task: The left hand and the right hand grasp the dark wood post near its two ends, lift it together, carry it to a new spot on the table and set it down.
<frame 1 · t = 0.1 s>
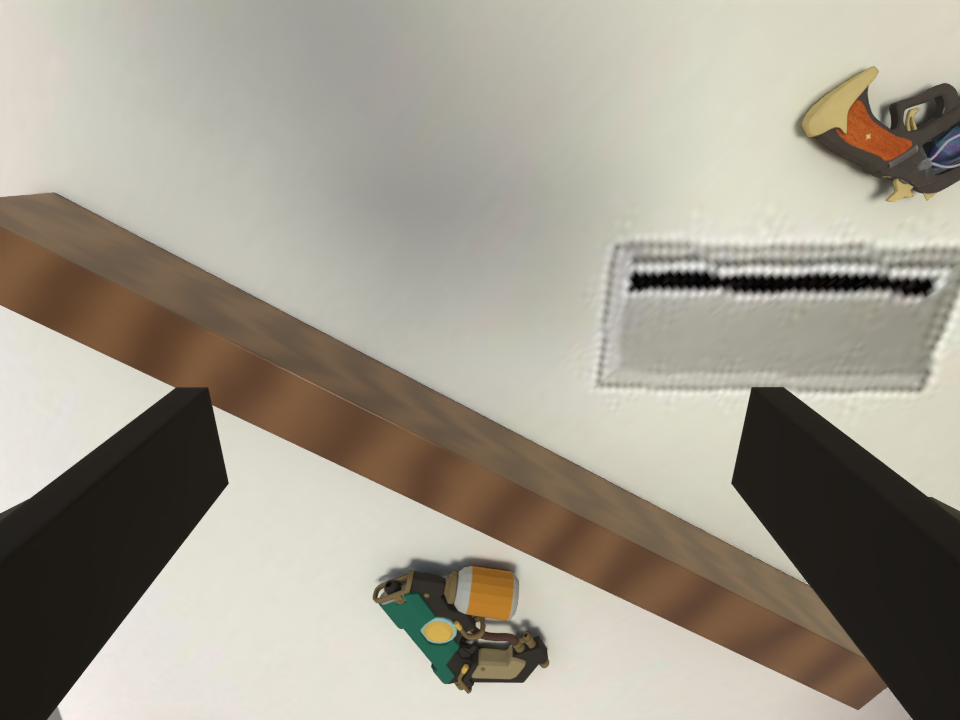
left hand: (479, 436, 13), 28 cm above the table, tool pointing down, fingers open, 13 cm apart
post: (496, 452, 45), on the table
spray gun: (465, 614, 52), on the table
toy gun: (947, 99, 35), on the table
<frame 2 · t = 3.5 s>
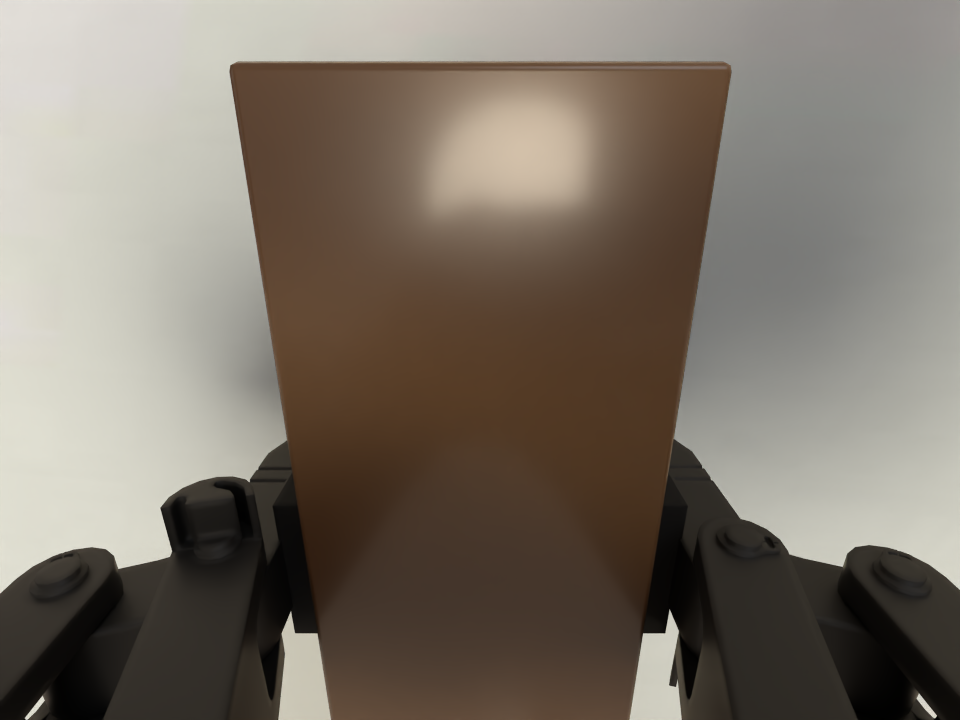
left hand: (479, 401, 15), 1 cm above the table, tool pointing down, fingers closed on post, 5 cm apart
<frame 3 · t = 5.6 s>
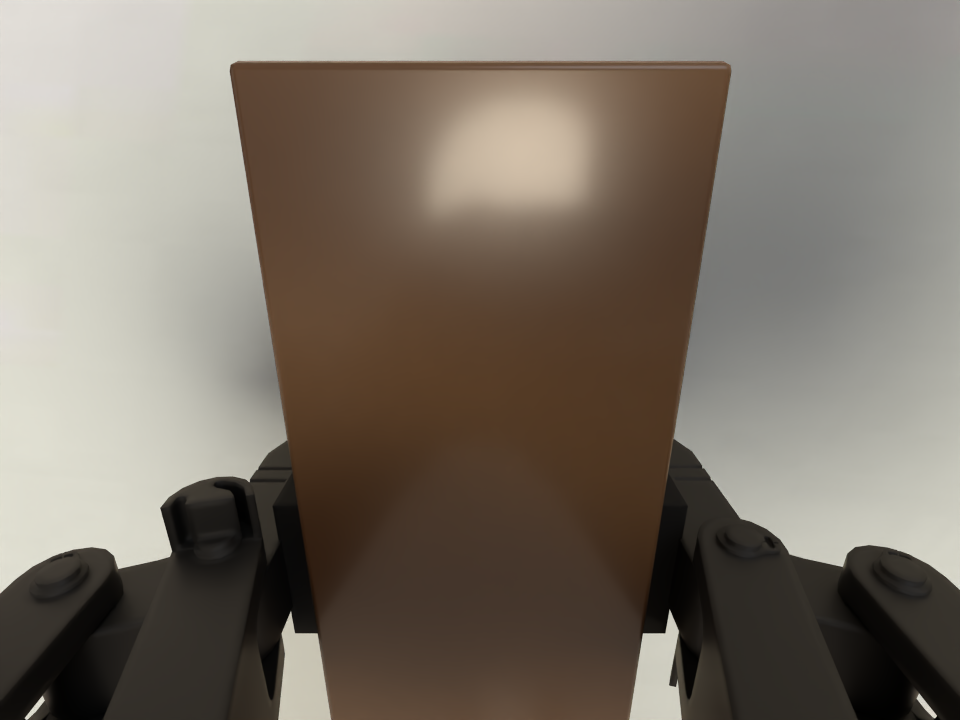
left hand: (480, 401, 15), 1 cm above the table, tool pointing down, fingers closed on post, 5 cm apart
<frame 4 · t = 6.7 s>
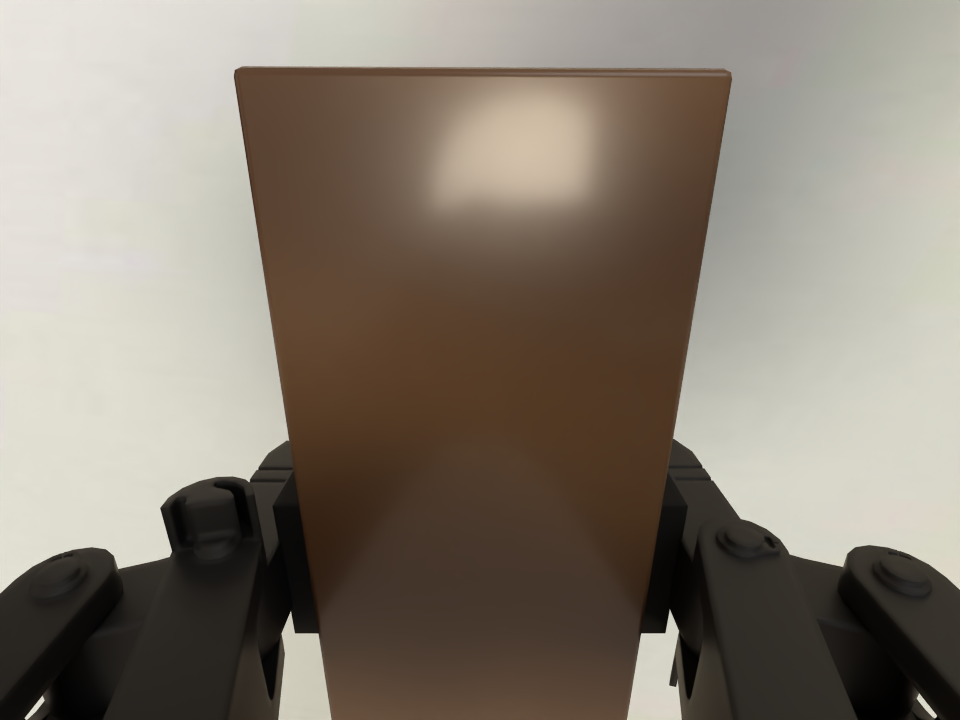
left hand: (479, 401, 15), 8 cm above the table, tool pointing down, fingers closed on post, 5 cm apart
when the left hand's fingers open (2 cm above the table, at t = 9.9 s): post drops 1 cm, on the table.
when the right hand's fingers open (4 cm above the table, at t = 10.1 s): post stays where it is, on the table.
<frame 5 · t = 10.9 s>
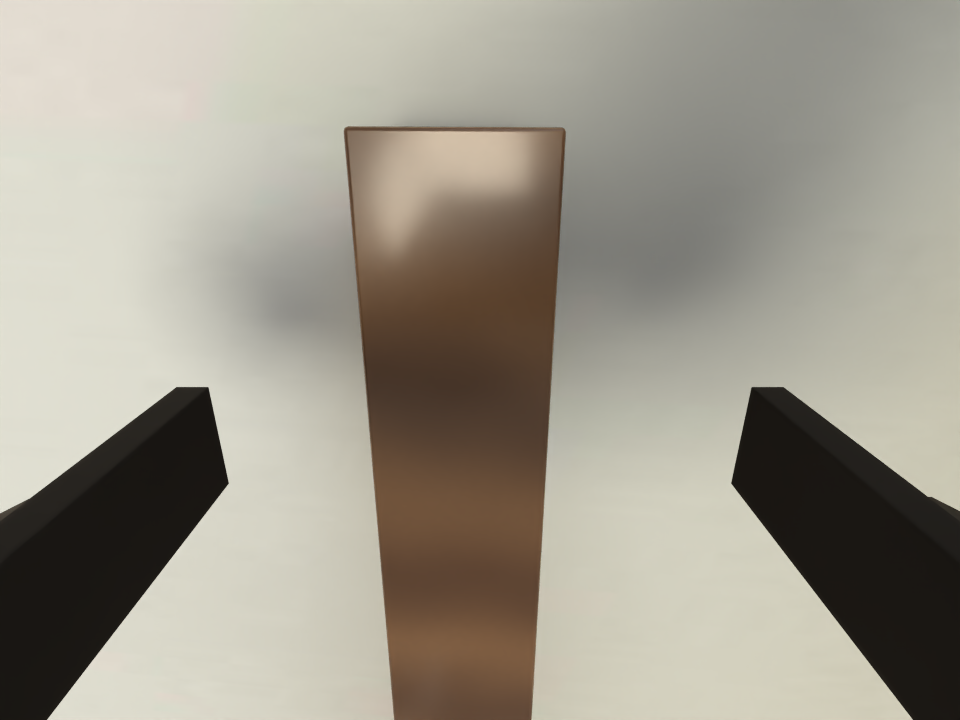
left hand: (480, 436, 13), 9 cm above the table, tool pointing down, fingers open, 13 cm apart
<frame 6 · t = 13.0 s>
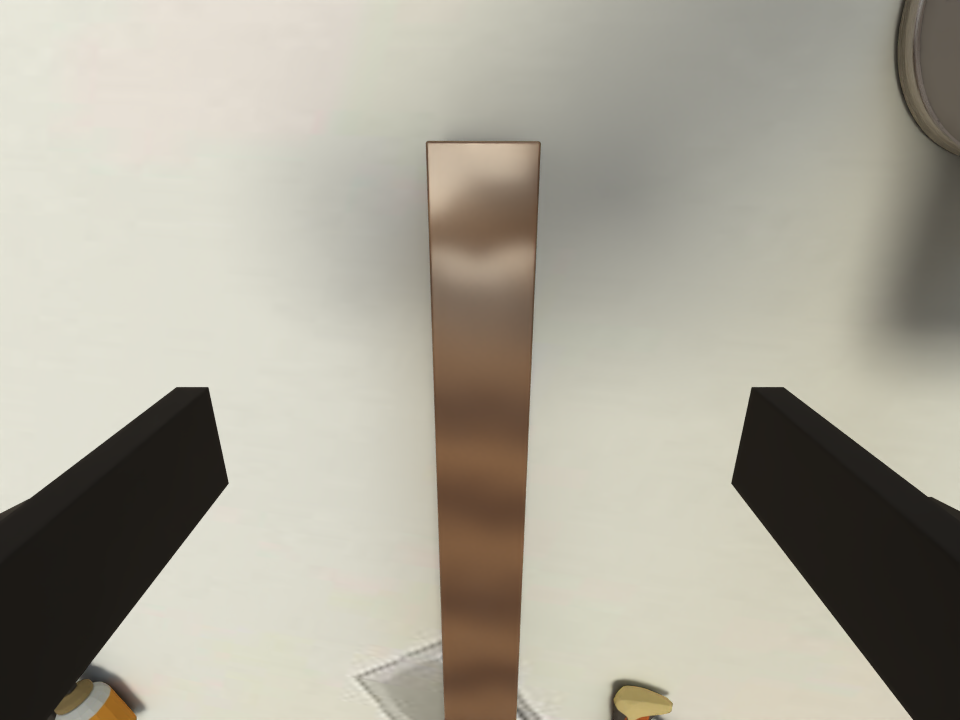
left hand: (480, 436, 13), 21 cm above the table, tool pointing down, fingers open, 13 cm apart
post: (480, 638, 44), on the table
spray gun: (54, 702, 47), on the table
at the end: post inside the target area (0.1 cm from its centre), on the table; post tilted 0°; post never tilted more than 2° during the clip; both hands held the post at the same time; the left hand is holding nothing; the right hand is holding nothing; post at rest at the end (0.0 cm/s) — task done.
